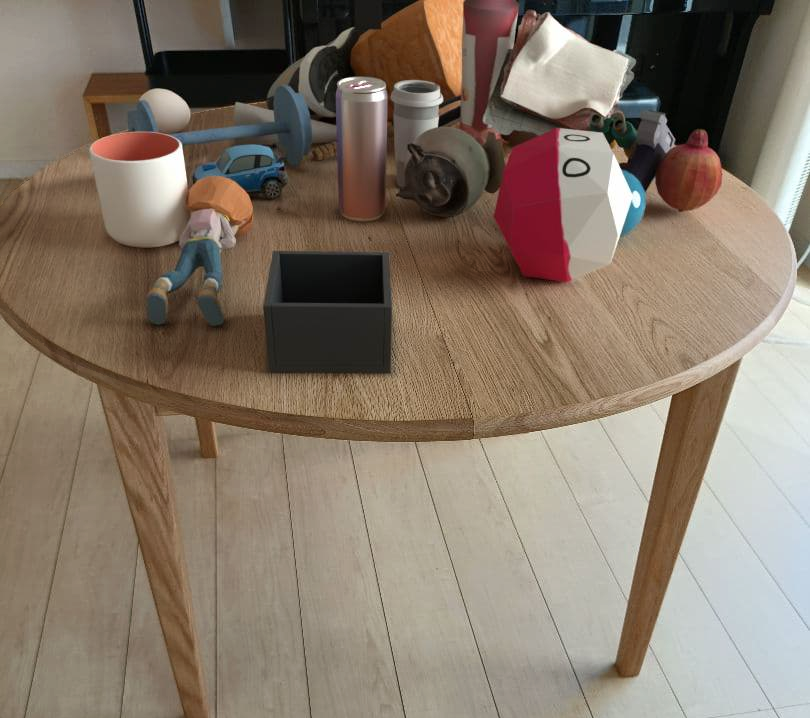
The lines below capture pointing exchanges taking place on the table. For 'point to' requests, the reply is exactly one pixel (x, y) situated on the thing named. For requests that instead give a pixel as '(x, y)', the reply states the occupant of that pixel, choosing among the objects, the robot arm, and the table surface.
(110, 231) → the cup
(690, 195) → the fruit
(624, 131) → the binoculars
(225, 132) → the dumbbell
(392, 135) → the throwing knife
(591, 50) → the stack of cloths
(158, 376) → the table surface
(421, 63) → the bread
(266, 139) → the long tapered cone
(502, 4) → the liquor
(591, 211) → the decorative object
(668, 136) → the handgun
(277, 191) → the toy car
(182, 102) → the egg
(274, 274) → the trash bin
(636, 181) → the ball
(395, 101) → the cup
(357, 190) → the beverage can
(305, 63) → the running shoe
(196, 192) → the figurine
